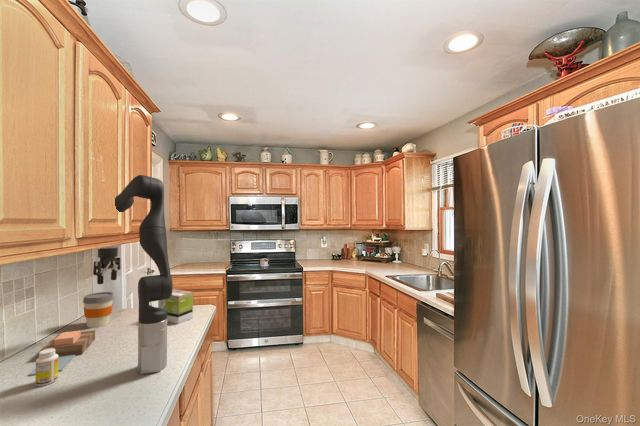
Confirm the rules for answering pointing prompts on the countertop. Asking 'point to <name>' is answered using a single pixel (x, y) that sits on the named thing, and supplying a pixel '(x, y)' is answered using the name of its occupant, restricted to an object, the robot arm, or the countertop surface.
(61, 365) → the mat
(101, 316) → the reusable coffee cup
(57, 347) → the block
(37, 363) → the supplement bottle
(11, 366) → the countertop surface
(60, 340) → the salmon foam block
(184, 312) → the tea box
